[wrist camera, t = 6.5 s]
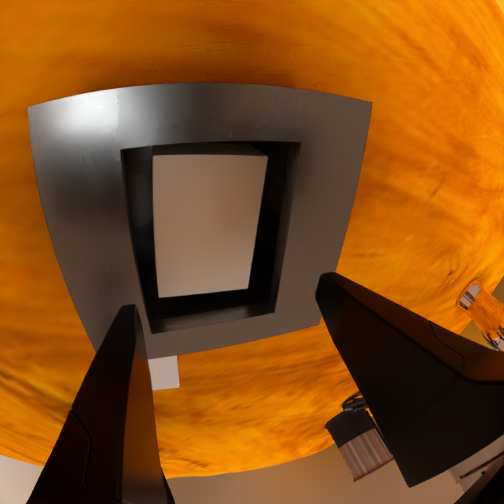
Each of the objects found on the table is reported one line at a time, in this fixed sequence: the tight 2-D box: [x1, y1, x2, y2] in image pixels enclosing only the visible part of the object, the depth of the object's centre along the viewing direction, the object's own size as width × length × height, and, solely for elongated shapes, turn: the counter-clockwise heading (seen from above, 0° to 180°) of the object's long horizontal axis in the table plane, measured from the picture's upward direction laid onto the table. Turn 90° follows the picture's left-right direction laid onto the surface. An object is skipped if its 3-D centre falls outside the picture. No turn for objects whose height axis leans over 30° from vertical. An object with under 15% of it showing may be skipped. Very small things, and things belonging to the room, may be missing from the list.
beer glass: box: [456, 279, 504, 351], centre depth 33 cm, size 7×7×15 cm
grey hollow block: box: [28, 82, 372, 360], centre depth 12 cm, size 11×11×6 cm
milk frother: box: [325, 398, 394, 482], centre depth 42 cm, size 14×16×15 cm
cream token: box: [152, 143, 268, 298], centre depth 12 cm, size 6×4×2 cm, turn 172°
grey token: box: [148, 355, 180, 390], centre depth 20 cm, size 6×4×2 cm, turn 171°
